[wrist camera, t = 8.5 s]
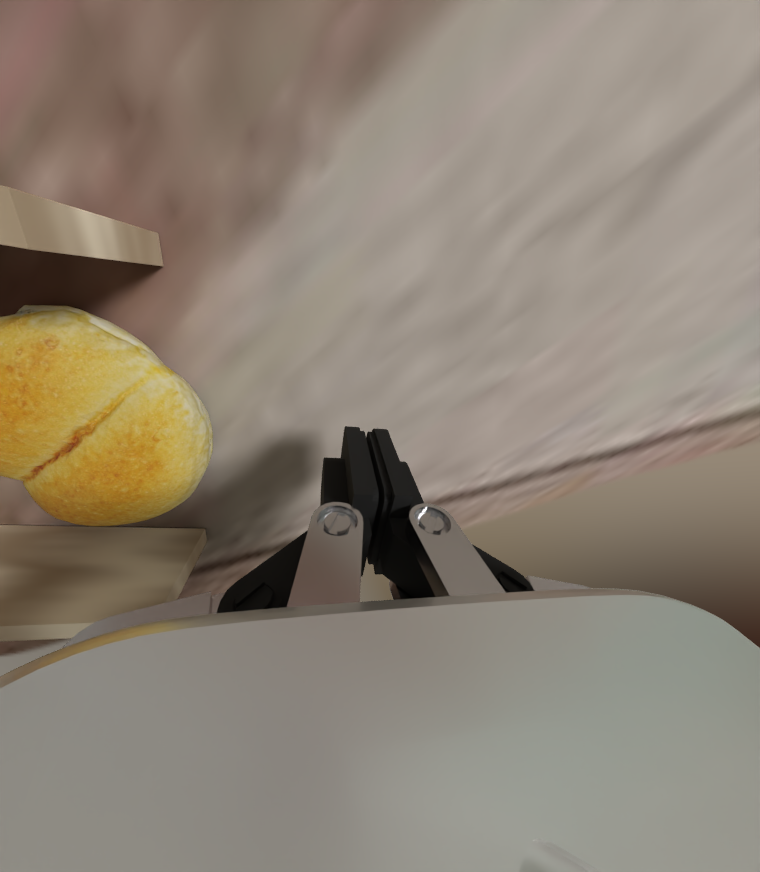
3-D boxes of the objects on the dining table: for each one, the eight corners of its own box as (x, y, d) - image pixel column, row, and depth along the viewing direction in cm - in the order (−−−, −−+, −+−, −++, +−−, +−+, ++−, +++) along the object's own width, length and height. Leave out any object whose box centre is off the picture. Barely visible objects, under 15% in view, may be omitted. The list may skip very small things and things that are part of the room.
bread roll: (138, 517, 15) (78, 585, 12) (-63, 379, 11) (-250, 423, 7) (261, 445, 14) (235, 497, 11) (91, 263, 10) (-42, 250, 6)
